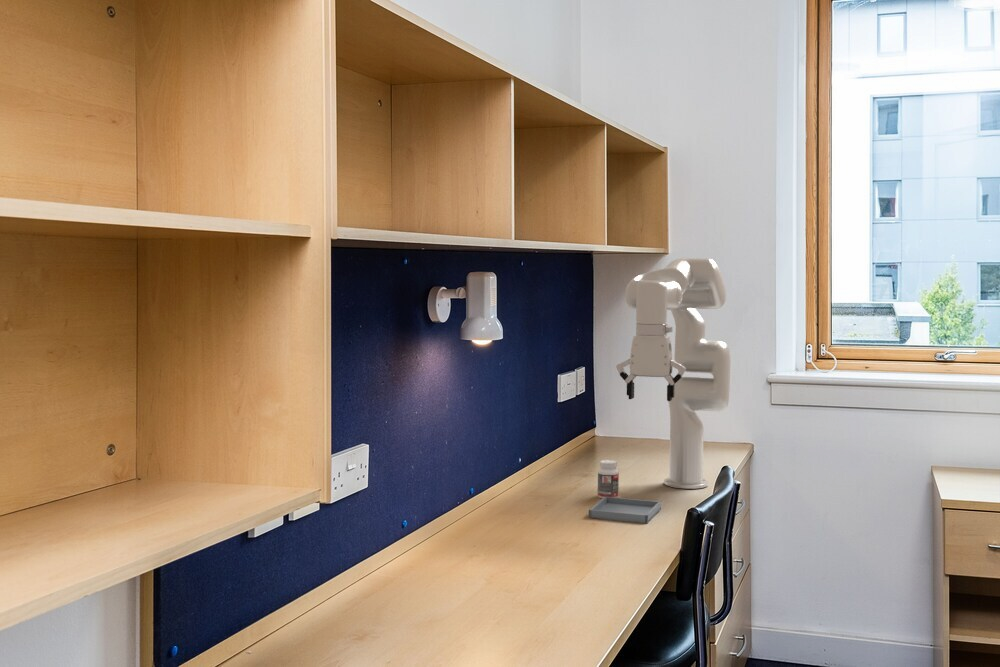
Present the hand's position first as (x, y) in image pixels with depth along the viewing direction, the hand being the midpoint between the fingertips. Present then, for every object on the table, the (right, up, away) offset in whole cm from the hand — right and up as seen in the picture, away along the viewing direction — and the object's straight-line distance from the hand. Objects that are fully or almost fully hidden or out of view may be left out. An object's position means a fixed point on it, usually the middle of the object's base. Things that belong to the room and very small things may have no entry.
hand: (650, 399), depth 242 cm
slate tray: (-5, -30, +8) cm, 31 cm away
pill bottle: (-8, -29, +26) cm, 40 cm away
